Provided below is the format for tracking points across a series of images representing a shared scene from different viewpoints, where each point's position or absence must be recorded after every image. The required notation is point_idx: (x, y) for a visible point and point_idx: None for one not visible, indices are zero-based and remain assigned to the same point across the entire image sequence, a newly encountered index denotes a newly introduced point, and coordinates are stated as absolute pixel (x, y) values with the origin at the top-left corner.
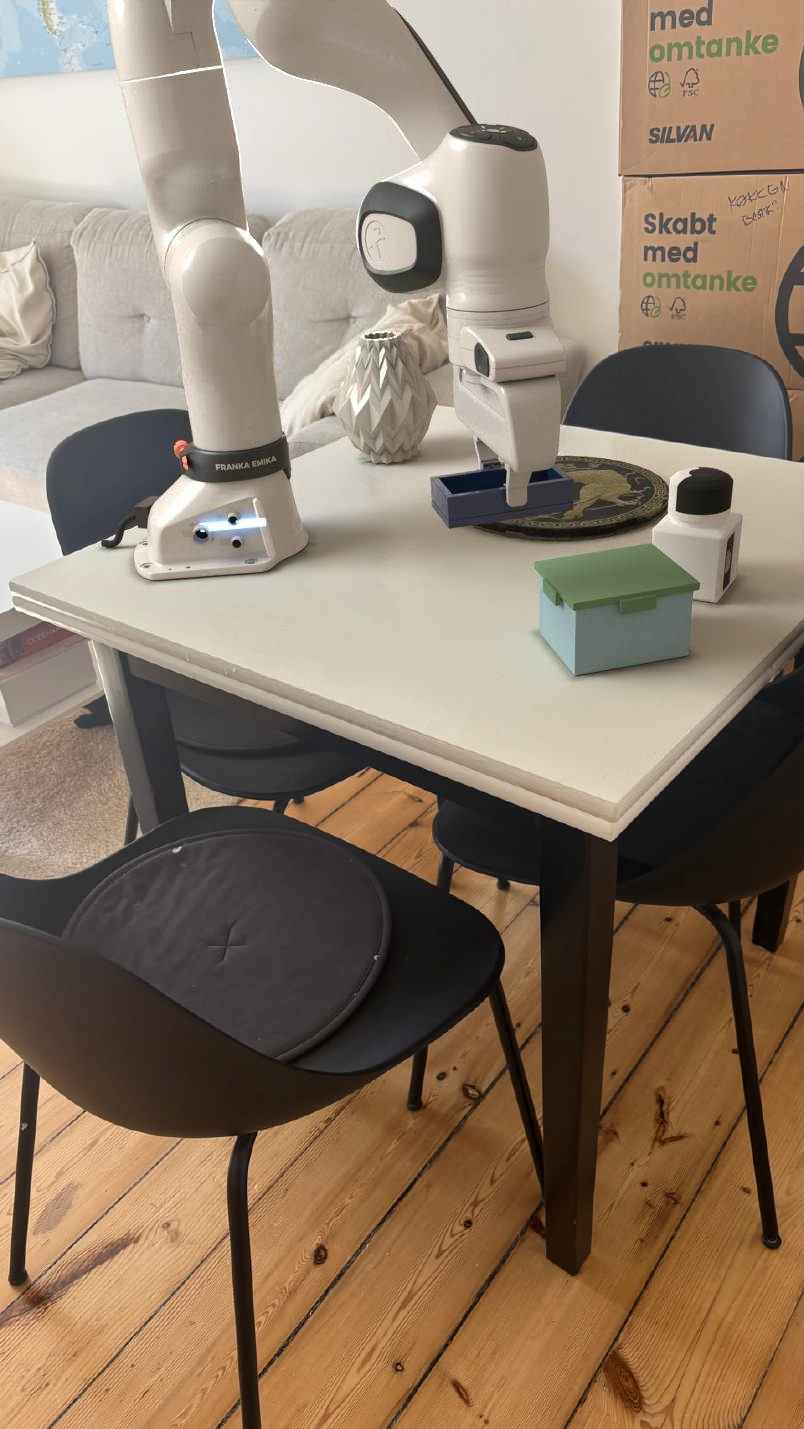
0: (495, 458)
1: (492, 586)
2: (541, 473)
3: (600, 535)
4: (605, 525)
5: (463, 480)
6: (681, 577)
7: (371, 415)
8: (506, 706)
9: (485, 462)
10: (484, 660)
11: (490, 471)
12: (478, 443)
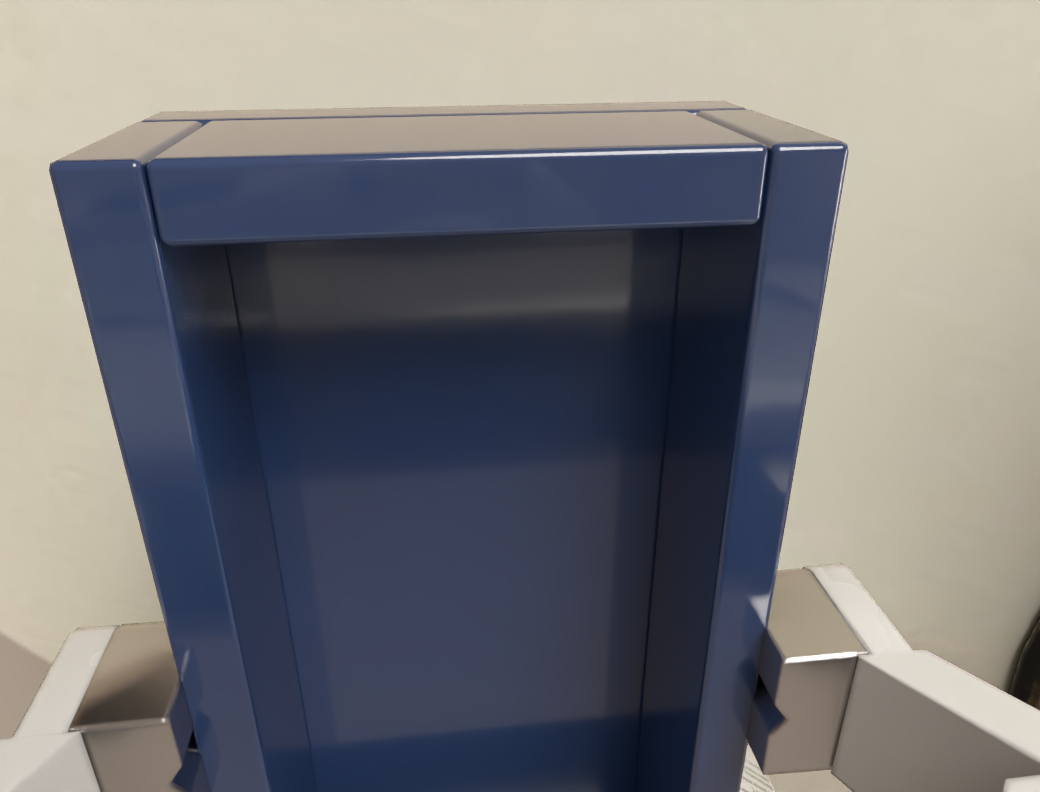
0: (838, 758)
1: (905, 330)
2: None
3: (1019, 668)
4: (1035, 699)
5: (711, 436)
6: None
7: None
8: (70, 153)
9: (806, 683)
10: None
11: (704, 661)
12: (1019, 773)
